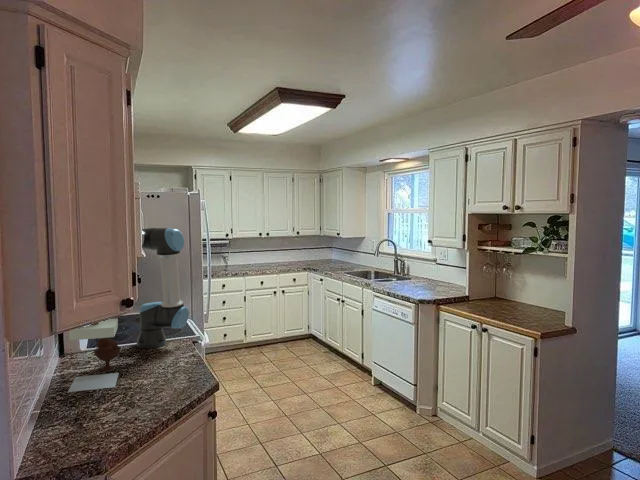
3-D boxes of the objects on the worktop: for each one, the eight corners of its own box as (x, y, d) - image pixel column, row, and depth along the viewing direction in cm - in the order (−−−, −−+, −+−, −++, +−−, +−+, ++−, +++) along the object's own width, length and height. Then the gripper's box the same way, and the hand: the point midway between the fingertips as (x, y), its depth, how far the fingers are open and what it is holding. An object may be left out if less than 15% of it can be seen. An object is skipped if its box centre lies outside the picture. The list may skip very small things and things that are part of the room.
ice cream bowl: (110, 374, 190) (110, 341, 189) (88, 372, 192) (88, 339, 191) (125, 366, 200) (125, 334, 199) (104, 364, 202) (104, 333, 202)
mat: (119, 373, 190) (119, 372, 190) (115, 388, 174) (115, 386, 174) (75, 378, 184) (75, 376, 184) (67, 393, 169) (67, 392, 169)
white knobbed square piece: (117, 327, 189) (117, 298, 188) (114, 337, 174) (113, 305, 173) (76, 330, 183) (76, 300, 183) (69, 340, 168) (68, 307, 168)
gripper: (70, 265, 171) (71, 323, 172) (114, 264, 176) (115, 320, 178) (73, 263, 178) (74, 318, 179) (116, 262, 183) (116, 316, 185)
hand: (94, 319), depth 178 cm, fingers closed on white knobbed square piece, 3 cm apart
